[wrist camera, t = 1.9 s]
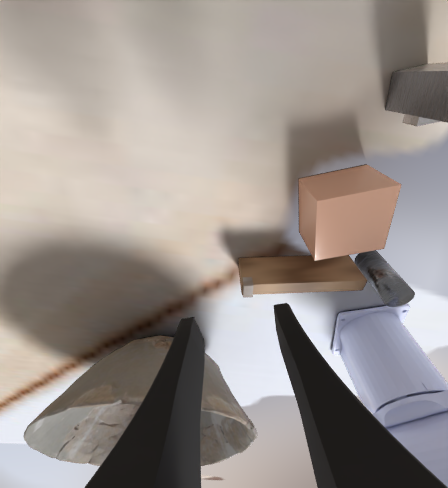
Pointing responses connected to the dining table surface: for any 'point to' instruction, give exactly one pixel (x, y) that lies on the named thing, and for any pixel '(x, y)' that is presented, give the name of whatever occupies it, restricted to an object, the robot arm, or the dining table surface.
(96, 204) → the dining table surface
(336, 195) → the block
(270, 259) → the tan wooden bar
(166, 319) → the dining table surface
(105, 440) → the ceramic bowl
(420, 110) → the grey blocks
